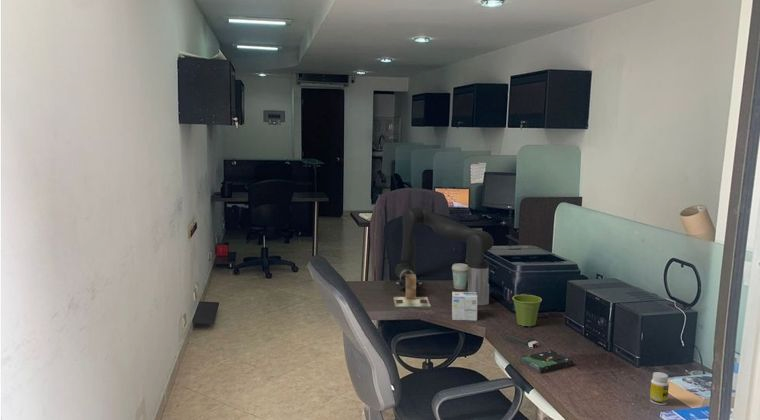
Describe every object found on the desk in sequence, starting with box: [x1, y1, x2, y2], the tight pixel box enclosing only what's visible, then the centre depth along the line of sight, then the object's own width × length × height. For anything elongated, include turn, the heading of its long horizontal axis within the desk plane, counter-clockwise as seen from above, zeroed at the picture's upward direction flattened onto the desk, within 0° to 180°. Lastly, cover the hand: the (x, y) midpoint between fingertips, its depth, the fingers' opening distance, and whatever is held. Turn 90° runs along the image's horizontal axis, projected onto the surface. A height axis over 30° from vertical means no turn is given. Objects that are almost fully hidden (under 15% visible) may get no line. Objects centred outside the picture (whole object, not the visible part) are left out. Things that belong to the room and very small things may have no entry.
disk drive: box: [519, 350, 574, 375], centre depth 197 cm, size 10×3×15 cm
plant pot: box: [511, 294, 543, 327], centre depth 237 cm, size 12×12×11 cm
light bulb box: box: [451, 291, 478, 322], centre depth 245 cm, size 11×7×11 cm, turn 84°
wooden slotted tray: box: [392, 296, 431, 307], centre depth 265 cm, size 16×15×2 cm
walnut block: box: [404, 273, 417, 300], centre depth 269 cm, size 4×4×11 cm
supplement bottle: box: [649, 371, 670, 406], centre depth 170 cm, size 5×5×8 cm
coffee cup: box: [451, 262, 469, 290], centre depth 293 cm, size 8×9×12 cm
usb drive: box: [505, 331, 539, 349], centre depth 218 cm, size 5×12×3 cm, turn 36°
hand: (410, 287), depth 272 cm, fingers closed
